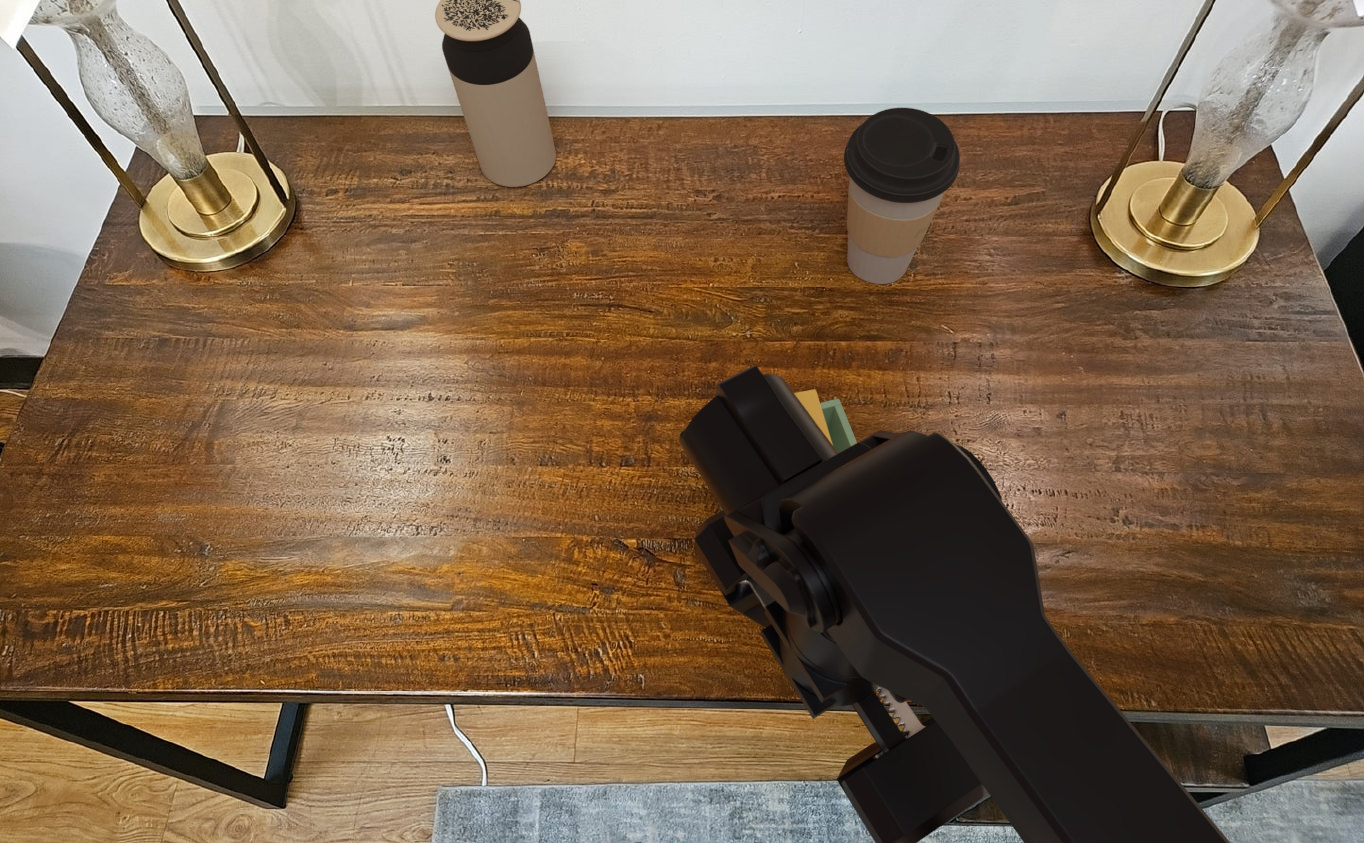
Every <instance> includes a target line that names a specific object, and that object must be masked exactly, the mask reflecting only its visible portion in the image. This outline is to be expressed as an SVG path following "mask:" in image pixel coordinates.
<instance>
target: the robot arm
mask: <svg viewBox="0 0 1364 843" xmlns="http://www.w3.org/2000/svg"><path fill="white" fill-rule="evenodd" d="M716 386H717V390H716V391H717V393H716V394H717V395H716V396H715V397H713V398H712V399H711V400H710V401H708V402H707V403H706V404H705V405H704V406H702V407H701V408H700V410H699V411H698V412H696V414H695V415H694V416H692V418H691V419H690V421H689V422H688V424H687V425H686V427H685V429H684V430H682V431H681V432H680V433H679V439H678V440H679V444H680V446H681V447H682V449H683V451H684V452H685V453H686V455H687V457H688V458H689V460H690V462H691V463H692V465H693V466H694V467H695V469H696V471H697V472H698V473H699V475H700V477H701V478H702V481H704V483H705V485H706V486H707V488H708V489H709V491H710V492H711V494H712V495H713V497H714V498H715V500H716V502H717V503H718V506H719V505H720V506H721V508H722V509H723V510H722V511H721V510H720V511H718V512H716V513H715V514H712V515H711V516H709V517H707V518H706V519H705V520H704V521H703V522H702V523H701V524H700V525H699V526H698V527H697V530H696V534H695V536H694V550H695V553H696V555H697V556H698V558H699V559H700V560H701V563H702V564H703V566H704V567H705V569H706V570H707V573H709V575H710V577H711V578H712V580H713V582H714V584H715V585H716V587H717V588H718V590H719V592H720V594H722V596H723V598H724V600H725V601H726V603H727V604H728V606H729V607H730V608H731V609H733V610H734V611H736V612H738V613H740V615H741V614H742V615H743V616H744V617H747V618H748V619H749V620H751V621H753V622H755V623H756V624H758V625H759V626H761V627H763V628H762V629H761V630H760V631H761V632H760V637H761V638H762V640H763V642H764V643H765V645H766V646H767V648H768V649H769V651H770V652H771V654H772V656H773V658H774V659H775V661H776V663H777V664H778V666H779V667H780V669H781V670H782V672H783V674H784V675H785V677H786V678H787V680H788V682H789V683H790V685H791V686H792V689H794V691H795V693H796V695H797V696H798V698H799V699H800V701H801V703H802V704H803V706H804V707H805V709H806V711H807V712H808V713H809V715H810V717H811V719H812V720H814V719H816V718H817V717H819V716H820V715H821V716H822V714H824V713H825V712H827V711H829V710H830V709H832V708H833V707H838V708H839V707H848V706H852V708H853V709H854V711H855V713H856V714H857V715H858V717H859V718H860V720H861V722H862V723H863V725H864V726H865V727H866V729H867V731H868V732H869V734H870V736H871V737H872V739H873V740H874V741H875V742H872V743H871V744H869V745H868V746H866V747H865V748H863V749H861V750H860V751H858V752H856V753H855V754H853V755H852V756H851V757H849V758H848V759H846V760H845V762H844V765H843V766H842V768H841V770H840V772H839V774H838V775H837V777H836V782H837V783H838V784H839V786H840V788H841V789H842V791H843V793H844V794H845V796H846V798H847V800H848V801H849V802H850V804H851V805H852V806H851V807H853V809H854V811H855V812H856V814H857V816H858V817H859V819H860V820H861V822H862V823H863V825H864V827H865V828H866V830H867V831H868V833H869V835H870V836H871V838H872V840H873V841H874V843H919V842H920V841H922V840H923V839H925V838H926V837H928V836H929V835H930V834H932V833H934V832H935V831H937V830H938V829H940V828H941V827H942V826H944V825H945V824H947V823H948V822H949V821H951V820H952V819H954V818H956V817H957V816H958V815H960V814H962V813H963V812H964V811H966V810H967V809H969V808H970V807H972V806H973V805H975V804H976V803H978V802H979V801H981V800H982V799H983V798H985V797H986V796H987V795H989V796H990V798H991V799H992V800H993V801H994V803H995V804H996V806H997V807H998V809H999V810H1000V811H1001V813H1002V814H1003V815H1004V817H1005V819H1007V821H1008V823H1009V824H1010V825H1011V827H1012V828H1013V830H1014V831H1015V832H1016V834H1017V835H1018V836H1019V838H1020V839H1021V841H1022V842H1023V843H1231V842H1230V841H1229V839H1228V838H1227V836H1226V835H1225V834H1224V833H1223V832H1222V830H1221V829H1220V828H1219V827H1218V825H1216V824H1215V822H1214V821H1213V820H1212V819H1211V817H1210V816H1209V815H1208V814H1207V812H1206V811H1205V810H1204V809H1203V808H1202V806H1201V805H1200V804H1199V803H1198V802H1197V801H1196V799H1195V798H1194V797H1193V796H1192V794H1191V793H1190V792H1189V791H1188V789H1186V787H1185V786H1184V785H1183V784H1182V783H1181V781H1180V780H1179V779H1178V778H1177V776H1176V775H1175V774H1174V773H1173V772H1172V770H1171V769H1170V768H1169V767H1168V766H1167V765H1166V763H1165V762H1164V761H1163V760H1162V758H1161V757H1160V756H1159V755H1158V754H1157V753H1156V751H1155V750H1154V749H1153V748H1152V746H1150V744H1149V743H1148V742H1147V740H1146V739H1145V738H1144V737H1143V736H1142V734H1141V733H1140V732H1139V731H1138V730H1137V729H1136V727H1135V726H1134V725H1133V724H1132V723H1131V721H1130V720H1129V719H1128V718H1127V717H1126V715H1125V714H1124V713H1123V712H1122V711H1121V709H1120V708H1119V707H1118V705H1116V704H1115V702H1114V701H1113V700H1112V698H1111V697H1110V696H1109V694H1108V693H1106V691H1105V689H1103V688H1102V687H1101V685H1100V684H1099V683H1098V681H1096V679H1095V678H1094V677H1093V676H1092V675H1091V673H1090V672H1089V671H1088V670H1087V668H1086V667H1085V666H1084V665H1083V663H1082V662H1081V661H1080V660H1079V659H1078V657H1076V655H1075V654H1074V653H1073V651H1072V650H1071V649H1070V648H1069V647H1068V645H1067V644H1066V642H1065V641H1064V639H1063V638H1062V636H1061V635H1060V634H1059V633H1058V631H1057V629H1056V628H1055V627H1054V626H1053V624H1052V623H1051V621H1050V620H1049V618H1048V617H1047V616H1046V612H1045V607H1044V600H1043V594H1042V588H1041V581H1040V575H1039V570H1038V563H1037V558H1036V557H1037V556H1036V552H1035V551H1036V550H1035V547H1034V544H1033V542H1032V539H1030V536H1028V534H1027V533H1026V531H1025V530H1024V528H1023V527H1022V526H1021V525H1020V523H1019V522H1018V520H1017V518H1016V517H1015V516H1014V515H1013V513H1012V512H1011V511H1010V510H1009V508H1008V507H1007V505H1005V503H1004V502H1003V498H1002V496H1001V492H1000V491H999V488H998V487H997V484H996V482H995V479H994V478H993V477H992V476H991V474H990V472H989V471H988V470H987V467H985V465H984V464H983V463H982V462H981V460H979V459H978V458H977V457H976V455H974V453H972V452H971V451H969V450H968V449H967V448H965V447H964V446H963V445H960V444H958V443H955V442H954V441H952V440H950V439H949V438H948V437H946V436H945V435H943V434H941V433H938V432H935V431H934V432H932V433H930V434H926V433H922V432H918V431H915V430H907V431H904V432H901V433H899V432H894V431H888V430H882V429H879V430H878V431H876V432H875V433H872V434H870V435H868V436H867V437H865V438H863V439H861V440H860V441H858V442H857V443H856V444H854V445H853V446H851V447H849V448H847V449H845V450H843V451H842V452H840V453H838V452H837V451H836V449H835V448H834V447H833V445H832V444H831V442H830V441H829V440H828V438H827V437H826V436H825V434H824V433H823V432H822V430H821V429H820V428H819V426H818V425H817V424H816V422H815V421H814V420H813V418H812V417H811V416H810V414H809V413H808V411H807V410H806V409H805V407H804V406H803V405H802V403H801V402H800V401H799V399H798V398H797V397H796V395H795V394H794V393H795V392H794V391H793V389H792V388H791V386H789V384H788V383H787V381H785V379H784V378H783V377H782V376H781V375H778V374H776V373H775V374H774V373H765V374H763V372H762V371H761V370H760V368H759V367H758V366H757V365H755V364H754V365H751V366H749V367H747V368H745V369H744V370H742V371H740V372H737V373H735V374H734V375H732V376H730V377H728V378H726V379H723V380H722V381H720V382H718V383H717V385H716ZM720 506H719V507H720ZM878 691H879V693H878V695H877V694H876V692H878ZM881 698H884V700H883V701H881ZM907 701H909V702H911V703H914V704H916V705H919V706H920V707H923V708H924V709H925V710H927V712H928V713H929V714H930V716H931V717H930V718H928V719H926V720H923V721H922V722H921V721H920V720H919V718H918V717H917V716H916V714H915V713H914V711H913V710H912V708H911V706H910V705H909V704H908V702H907ZM887 705H889V706H888V708H886V707H885V706H887ZM892 712H894V713H893V714H892V716H891V715H890V713H892ZM895 719H898V721H897V722H895ZM901 726H903V728H902V729H900V728H899V727H901Z"/></svg>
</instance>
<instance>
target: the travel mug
mask: <svg viewBox="0 0 1364 843" xmlns="http://www.w3.org/2000/svg"><path fill="white" fill-rule="evenodd" d="M521 3H522V2H521V0H439V2H438V4H437V5H436V8H435V12H434V19H435V23H436V25H437V27H438V28H439V30H440V31H441V32H442V33H444V35H443V39H442V43H441V50H442V53H443V56H444V59H445V63H446V65H447V68H448V72H449V75H450V79H451V81H452V85H453V87H454V90H455V93H456V96H457V99H458V102H459V106H460V109H461V112H462V115H463V119H464V121H465V124H466V127H467V130H468V133H469V136H470V139H471V142H472V146H473V148H474V153H475V156H476V158H477V161H478V164H479V167H480V170H481V173H482V174H483V176H484V177H486V178H487V179H488V180H489V181H490V182H491V183H494V184H495V185H498V186H503V187H510V188H518V187H525V186H529V185H531V184H534V183H536V182H538V181H540V180H542V179H543V178H544V177H545V176H547V175H548V174H549V173H550V171H552V169H553V167H554V166H555V163H556V159H557V152H556V146H555V142H554V136H553V133H552V132H553V131H552V128H551V122H550V119H549V113H548V110H547V105H546V101H545V95H544V91H543V87H542V82H541V78H540V74H539V70H538V69H539V67H538V63H537V60H536V54H535V50H534V44H533V40H532V37H531V31H530V29H529V27H528V25H527V24H526V23H525V22H524V21H523V19H522V18H520V15H521V12H522V4H521Z"/></svg>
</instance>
